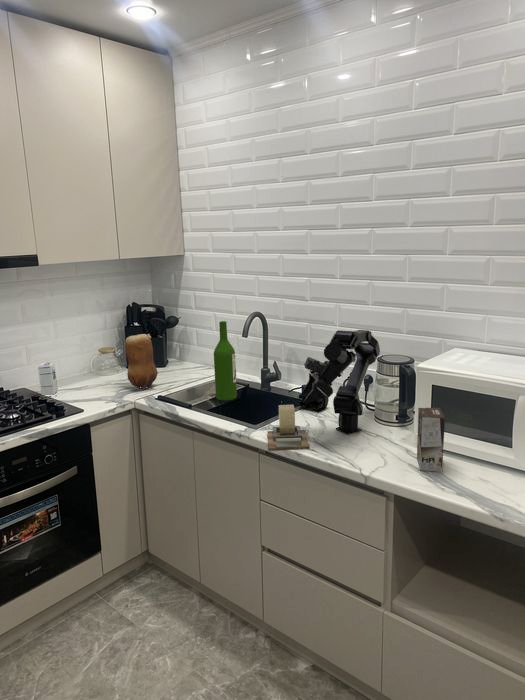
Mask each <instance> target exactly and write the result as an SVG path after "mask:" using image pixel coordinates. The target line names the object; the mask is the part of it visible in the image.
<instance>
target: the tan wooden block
mask: <svg viewBox="0 0 525 700" xmlns="http://www.w3.org/2000/svg"><path fill="white" fill-rule="evenodd" d="M278 425H279V426H278V427H279V434H280V436H282V435H295V426H296V411H295V406H294V404H280V405H279V404H278Z"/></svg>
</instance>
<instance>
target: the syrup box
mask: <svg viewBox="0 0 525 700" xmlns="http://www.w3.org/2000/svg"><path fill="white" fill-rule="evenodd" d="M37 370H38V378H39V384H40V392H41V396H42V395H55V394H56V393H57V391H58V390H59V389H58V382H57V373H56V368H55V362H44V363H43V362H42V363H40V364H39V365H38V366H37ZM58 392H59V391H58Z"/></svg>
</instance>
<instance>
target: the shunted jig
mask: <svg viewBox="0 0 525 700" xmlns="http://www.w3.org/2000/svg"><path fill="white" fill-rule="evenodd" d="M307 435H308V434H307V431H306V429H302V428H301V426H300V425H295V435H282V436H280V434H279V426H273V427H272V430H267V443H268V445H267V446H268V451H287V450H289V451H291V450H293V451H294V450H310V443H309V439H308V436H307Z"/></svg>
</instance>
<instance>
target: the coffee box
mask: <svg viewBox="0 0 525 700" xmlns="http://www.w3.org/2000/svg"><path fill="white" fill-rule="evenodd" d="M417 412H418V413H417V436H416V437H417V445H416V447H417V448H416V460H417V464H418V467H419V471H424V472H425V471H426V472H443V463H444V462H443V461H444V445H445V444H444V442H445V440H444V439H445V424H446V422H445V421H446V417H445V415H444V413H443V411H442V410H441V408H440V407H418V408H417Z"/></svg>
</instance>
